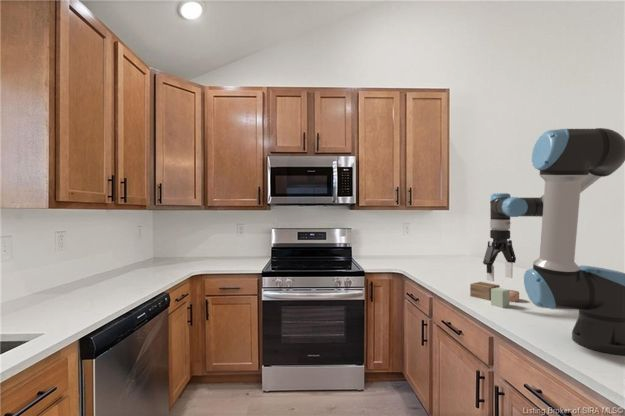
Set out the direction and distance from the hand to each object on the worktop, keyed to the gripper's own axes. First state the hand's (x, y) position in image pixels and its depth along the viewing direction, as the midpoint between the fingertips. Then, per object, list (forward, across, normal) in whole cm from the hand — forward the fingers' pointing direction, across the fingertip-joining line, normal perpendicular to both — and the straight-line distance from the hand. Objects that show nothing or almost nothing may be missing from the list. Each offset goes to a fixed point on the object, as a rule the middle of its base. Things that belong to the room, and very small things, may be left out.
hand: (499, 279), depth 144 cm
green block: (+11, 0, 0) cm, 11 cm away
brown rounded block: (+12, +13, +3) cm, 17 cm away
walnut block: (+12, +8, +12) cm, 18 cm away
